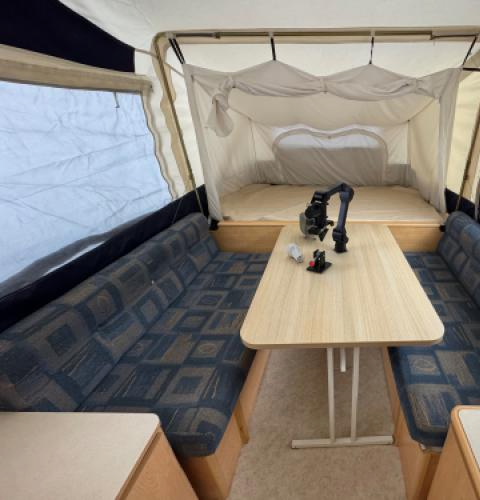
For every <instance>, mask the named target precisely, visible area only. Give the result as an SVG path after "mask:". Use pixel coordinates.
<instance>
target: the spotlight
mask: <svg viewBox="0 0 480 500" xmlns="http://www.w3.org/2000/svg"><path fill="white" fill-rule="evenodd" d="M300 250H301V247H300V246H299V245H298V244H297V243H294V242H293V243H289V244H288V245H287V247H286V248H285V253H286V255H287V256H288V257H290V258H293V259H294V260H295V262H297V263H302V262H303V261H304V259H305V256H304V255H303V254H302V252H301V251H300Z"/></svg>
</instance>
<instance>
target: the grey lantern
mask: <svg viewBox="0 0 480 500" xmlns="http://www.w3.org/2000/svg"><path fill="white" fill-rule="evenodd" d="M305 205H306V209H307V208H308V206H309V205H310V202H306V204H305ZM298 215H299V216H298V217H299V218H298V219H299V220H298V221H299V230H300V232H301V233H302V235H304V238H305V239H308V236H312V238H313V240H314V241H316V240H317V238H316V237H315V235H312V234H308V229H309V228H311V227H317V226H314V225H310V226H308V225H306V219H308V218H306V216H305V211H303V212H301V213H299V214H298Z"/></svg>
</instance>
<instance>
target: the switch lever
mask: <svg viewBox="0 0 480 500" xmlns="http://www.w3.org/2000/svg"><path fill="white" fill-rule="evenodd" d="M321 252H322V251H321V250H319V251H318V252H317V253H316V257H315V258H314V259H313V258H312V260H310V261H308V267H309V266H311V267H312V266H314V264H315V263H314V262H315V261H316V260H317V259H318V258H319V259H320V253H321Z"/></svg>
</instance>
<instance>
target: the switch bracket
mask: <svg viewBox="0 0 480 500" xmlns="http://www.w3.org/2000/svg"><path fill="white" fill-rule="evenodd" d="M318 251H320V249H319V248H317V249H315V250H314V251H312V255H313V256H312V260H313V259H314V258H315V257H316V253H317V252H318ZM314 263H315V264H314V266H312V267H311V266H309V265H308V266H307V267H306V271H309V272H313V273H315V274H320V275H322V274H323V273H324V272H325V271H326V270H328V269H329V268H331V266H332V264H333V263H332V262H330V261H326V250H322V251H321V253H320V258H318V259H317V260H316V261H315V262H314Z"/></svg>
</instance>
